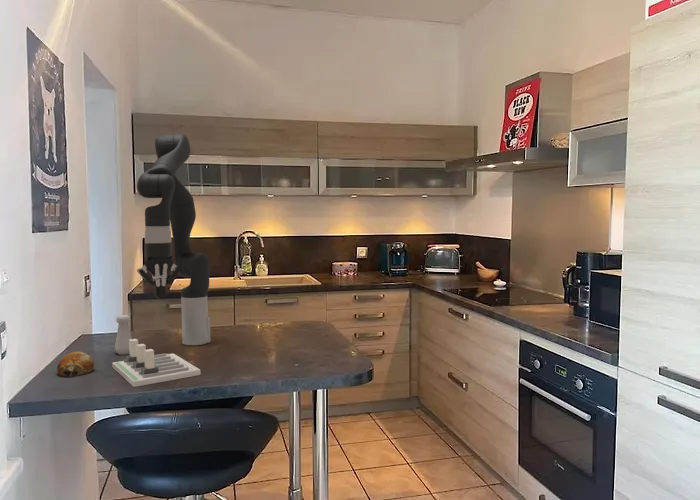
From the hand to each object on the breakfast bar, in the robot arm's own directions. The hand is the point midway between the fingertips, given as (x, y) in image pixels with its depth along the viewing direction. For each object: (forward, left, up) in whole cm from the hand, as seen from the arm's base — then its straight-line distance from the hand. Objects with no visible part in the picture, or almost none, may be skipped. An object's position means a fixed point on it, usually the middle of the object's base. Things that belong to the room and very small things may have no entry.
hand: (160, 298), depth 169 cm
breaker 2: (+6, 0, -20) cm, 21 cm away
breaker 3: (+6, +8, -20) cm, 23 cm away
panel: (+2, 0, -22) cm, 22 cm away
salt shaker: (+4, -28, -22) cm, 36 cm away
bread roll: (+22, -13, -22) cm, 34 cm away
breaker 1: (+6, -8, -20) cm, 23 cm away
